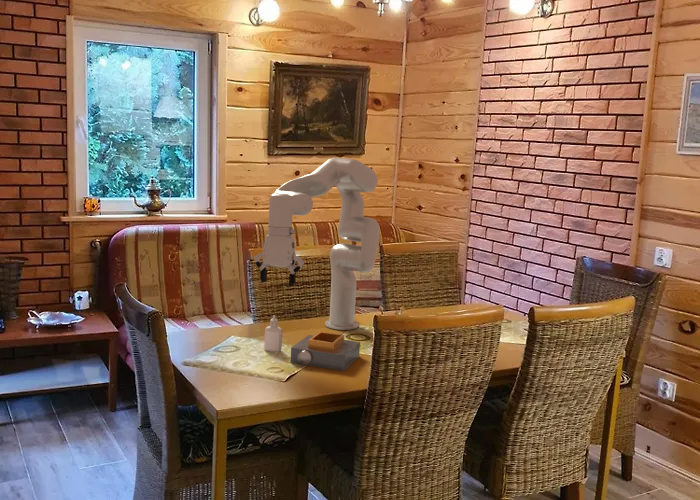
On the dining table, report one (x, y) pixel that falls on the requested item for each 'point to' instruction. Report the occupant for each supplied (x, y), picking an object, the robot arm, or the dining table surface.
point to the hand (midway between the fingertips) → (277, 283)
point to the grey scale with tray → (325, 351)
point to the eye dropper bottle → (273, 336)
